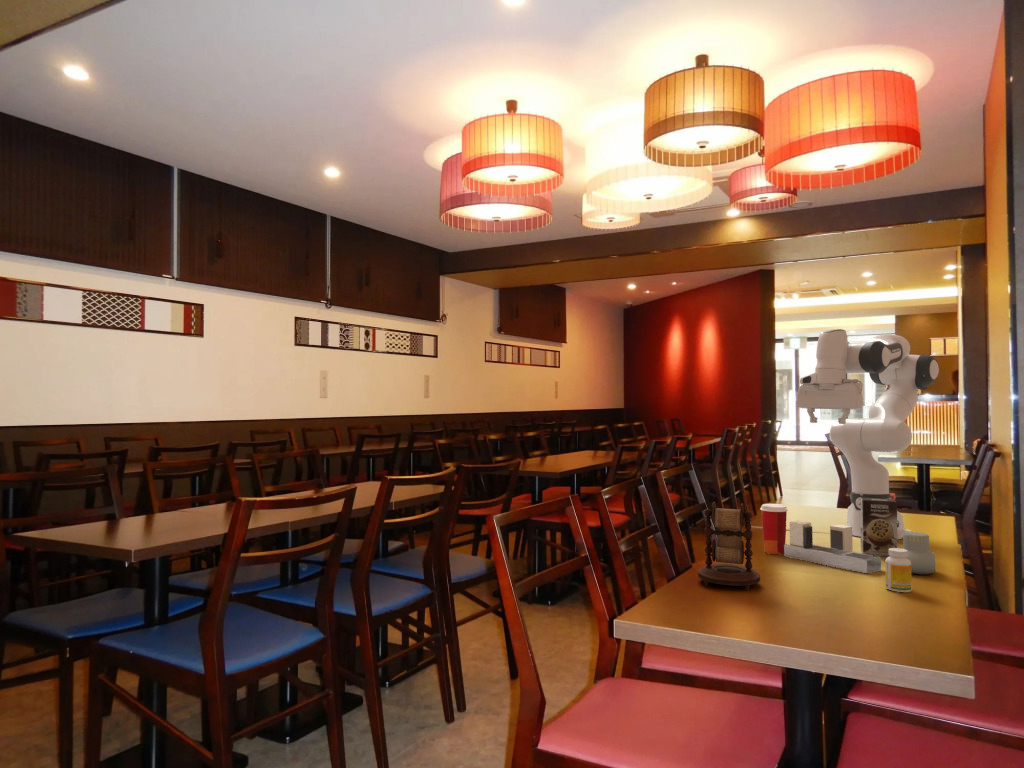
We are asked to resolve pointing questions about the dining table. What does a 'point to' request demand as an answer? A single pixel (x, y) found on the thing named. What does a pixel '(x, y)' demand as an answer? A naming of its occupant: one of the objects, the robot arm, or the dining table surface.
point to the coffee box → (878, 526)
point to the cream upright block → (841, 537)
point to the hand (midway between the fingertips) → (827, 423)
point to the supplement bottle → (898, 570)
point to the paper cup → (774, 527)
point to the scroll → (728, 548)
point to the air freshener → (919, 552)
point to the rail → (826, 551)
